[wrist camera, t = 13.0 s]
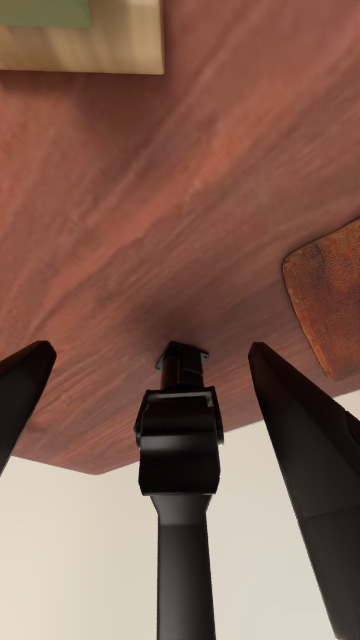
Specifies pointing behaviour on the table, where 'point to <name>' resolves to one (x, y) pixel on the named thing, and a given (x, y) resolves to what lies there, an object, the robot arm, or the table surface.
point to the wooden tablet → (329, 298)
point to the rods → (92, 41)
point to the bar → (45, 13)
